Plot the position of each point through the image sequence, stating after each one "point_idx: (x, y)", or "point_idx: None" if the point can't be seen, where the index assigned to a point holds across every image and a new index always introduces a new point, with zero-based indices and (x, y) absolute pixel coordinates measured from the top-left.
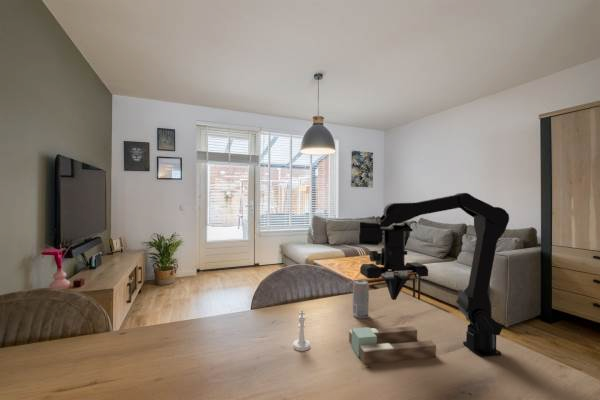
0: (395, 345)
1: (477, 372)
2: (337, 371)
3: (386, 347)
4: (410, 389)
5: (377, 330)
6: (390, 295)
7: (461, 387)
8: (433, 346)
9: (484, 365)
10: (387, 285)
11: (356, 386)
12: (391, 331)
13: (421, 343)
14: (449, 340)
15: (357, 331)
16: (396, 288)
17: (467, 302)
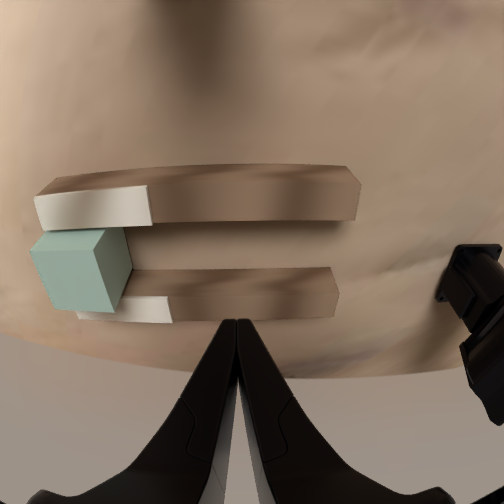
0: (188, 304)
1: (367, 339)
2: (37, 302)
3: (148, 318)
4: (178, 363)
5: (154, 199)
6: (213, 339)
7: (289, 368)
8: (323, 314)
9: (407, 322)
10: (171, 424)
11: (75, 341)
12: (221, 215)
13: (293, 304)
14: (445, 219)
15: (49, 273)
16: (248, 441)
17: (490, 407)
